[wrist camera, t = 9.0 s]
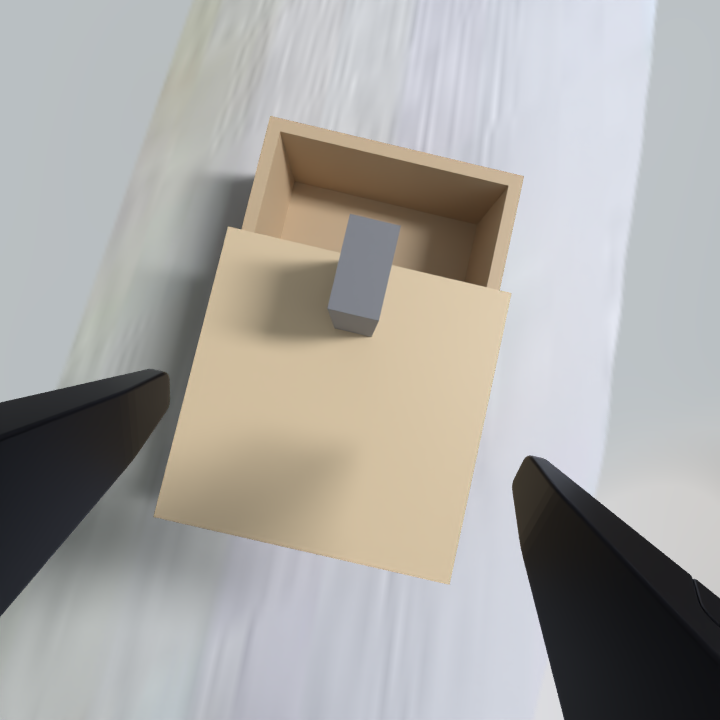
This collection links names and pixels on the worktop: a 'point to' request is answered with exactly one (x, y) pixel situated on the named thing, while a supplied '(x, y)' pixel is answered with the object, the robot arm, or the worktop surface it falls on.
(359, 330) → the sliding lid
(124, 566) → the worktop surface
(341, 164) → the wooden box
